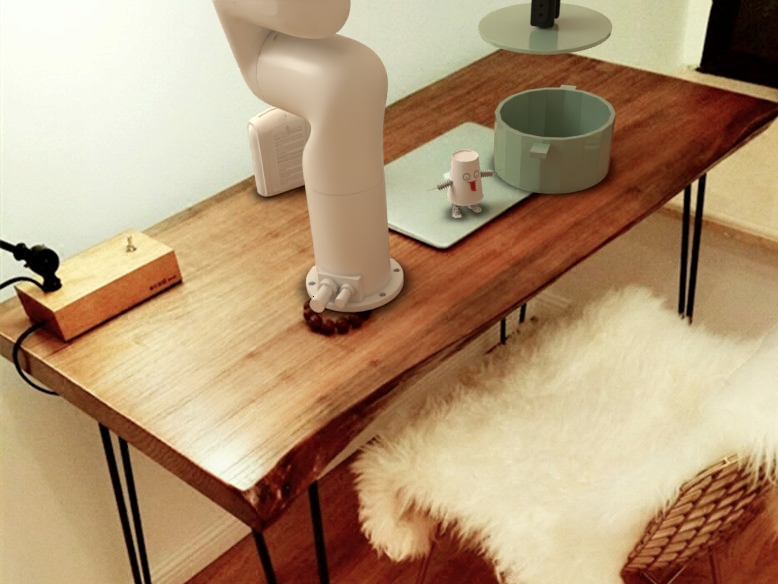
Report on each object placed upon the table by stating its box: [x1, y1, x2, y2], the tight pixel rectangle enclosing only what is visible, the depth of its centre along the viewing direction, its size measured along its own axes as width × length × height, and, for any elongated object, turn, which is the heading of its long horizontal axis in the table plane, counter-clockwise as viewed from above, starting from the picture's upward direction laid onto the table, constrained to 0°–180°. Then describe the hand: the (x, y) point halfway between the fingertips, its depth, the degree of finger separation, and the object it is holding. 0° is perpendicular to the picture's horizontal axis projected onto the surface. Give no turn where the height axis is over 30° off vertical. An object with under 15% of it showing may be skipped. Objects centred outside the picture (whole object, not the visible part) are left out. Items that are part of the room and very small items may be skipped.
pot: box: [493, 84, 617, 195], centre depth 136 cm, size 17×23×8 cm
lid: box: [477, 2, 613, 56], centre depth 124 cm, size 18×18×6 cm
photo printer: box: [246, 106, 311, 198], centre depth 134 cm, size 10×4×12 cm, turn 123°
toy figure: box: [426, 148, 504, 219], centre depth 127 cm, size 12×6×8 cm, turn 114°
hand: (544, 20), depth 124 cm, fingers closed on lid, 2 cm apart
